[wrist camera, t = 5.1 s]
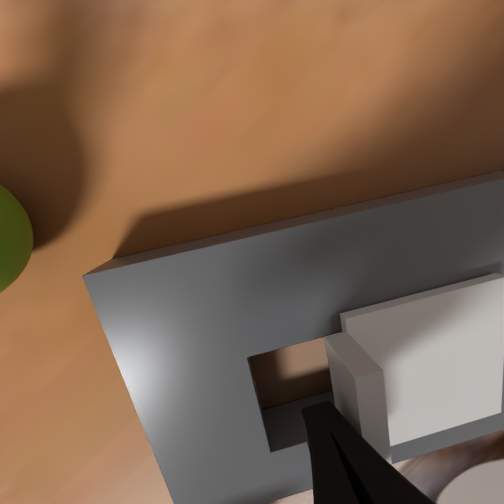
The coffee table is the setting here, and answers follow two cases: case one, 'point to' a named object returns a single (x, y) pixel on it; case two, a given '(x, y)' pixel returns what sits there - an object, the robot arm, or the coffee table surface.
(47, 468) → the coffee table surface
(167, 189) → the coffee table surface
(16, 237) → the snail figurine
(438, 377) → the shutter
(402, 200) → the socket plate
